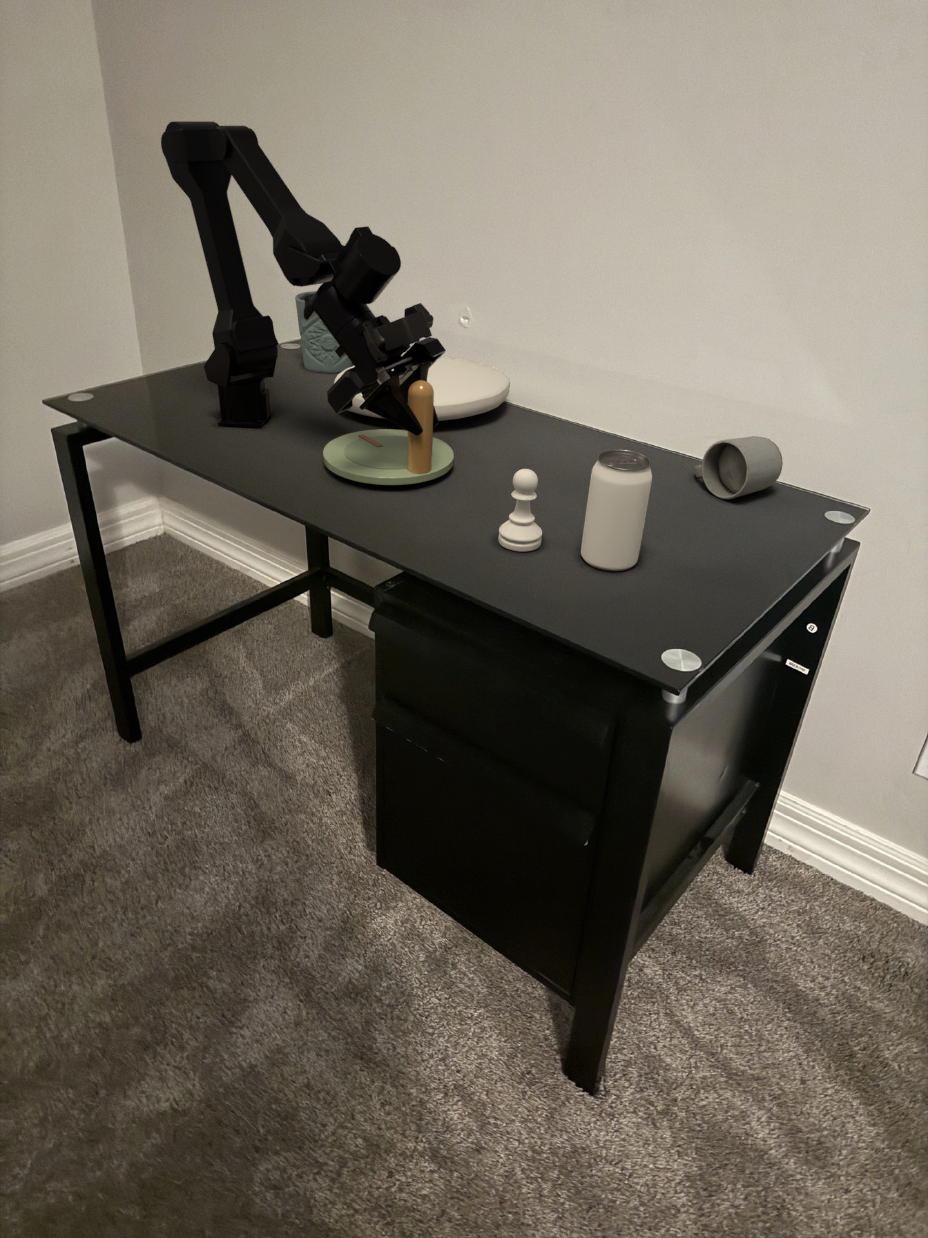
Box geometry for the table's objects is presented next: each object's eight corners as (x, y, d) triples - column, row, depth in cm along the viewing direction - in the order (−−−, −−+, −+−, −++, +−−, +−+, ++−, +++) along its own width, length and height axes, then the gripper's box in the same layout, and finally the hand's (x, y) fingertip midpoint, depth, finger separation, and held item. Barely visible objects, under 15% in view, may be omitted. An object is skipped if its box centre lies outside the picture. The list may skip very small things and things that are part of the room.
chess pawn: (539, 533, 103) (547, 462, 99) (542, 553, 99) (550, 480, 94) (497, 531, 103) (503, 460, 98) (498, 551, 99) (504, 477, 94)
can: (575, 545, 101) (588, 447, 95) (629, 545, 102) (646, 448, 95) (586, 572, 96) (600, 470, 89) (643, 573, 96) (662, 471, 90)
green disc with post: (299, 450, 119) (293, 358, 112) (404, 427, 129) (405, 341, 122) (370, 496, 108) (369, 396, 101) (480, 467, 117) (485, 373, 111)
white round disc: (312, 394, 128) (351, 347, 150) (319, 436, 131) (355, 385, 154) (503, 389, 125) (513, 342, 147) (504, 433, 128) (514, 380, 151)
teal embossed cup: (331, 377, 151) (329, 305, 144) (286, 366, 155) (282, 296, 149) (366, 364, 158) (365, 295, 152) (322, 354, 162) (319, 287, 156)
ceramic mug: (780, 495, 116) (793, 440, 112) (740, 508, 112) (753, 451, 108) (718, 469, 124) (728, 416, 120) (678, 480, 119) (688, 426, 115)
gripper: (341, 298, 96) (425, 415, 97) (433, 271, 110) (506, 373, 111) (292, 358, 104) (370, 466, 105) (383, 325, 117) (452, 421, 118)
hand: (428, 429), depth 110 cm, fingers closed on green disc with post, 3 cm apart
